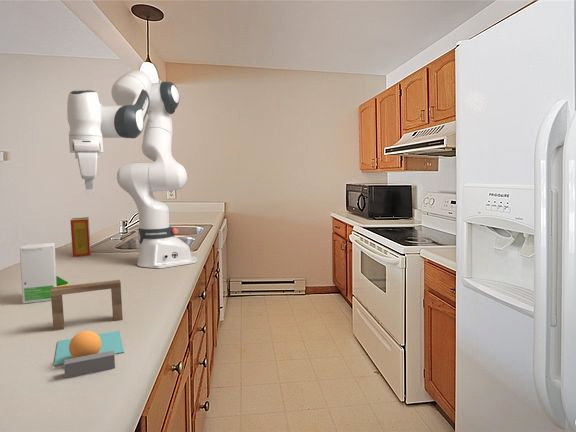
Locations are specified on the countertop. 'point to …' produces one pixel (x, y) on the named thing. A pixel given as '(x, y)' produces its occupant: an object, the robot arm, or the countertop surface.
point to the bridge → (59, 291)
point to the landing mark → (108, 343)
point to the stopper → (89, 364)
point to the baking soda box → (80, 236)
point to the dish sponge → (61, 282)
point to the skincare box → (37, 271)
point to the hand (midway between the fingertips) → (89, 194)
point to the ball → (84, 344)
